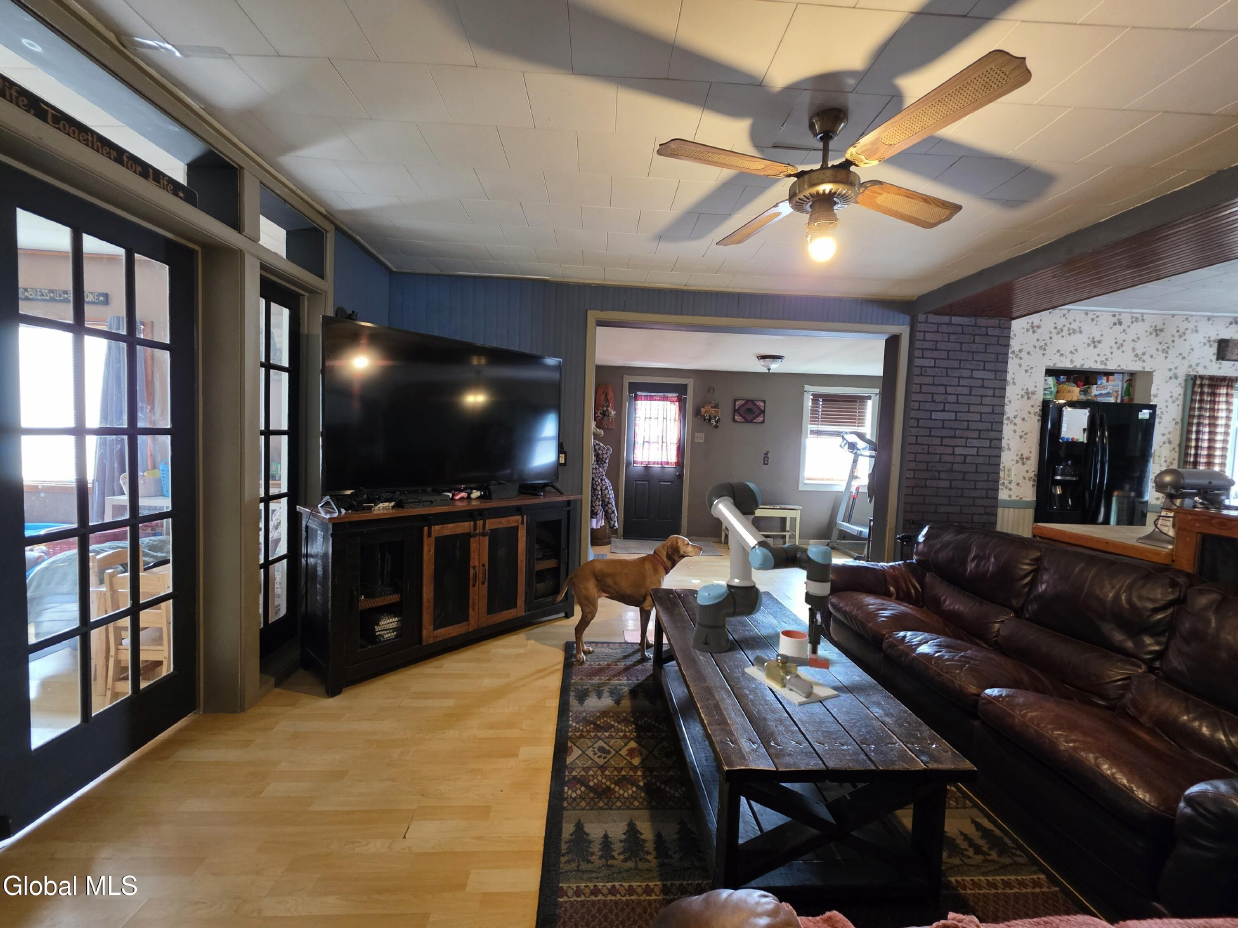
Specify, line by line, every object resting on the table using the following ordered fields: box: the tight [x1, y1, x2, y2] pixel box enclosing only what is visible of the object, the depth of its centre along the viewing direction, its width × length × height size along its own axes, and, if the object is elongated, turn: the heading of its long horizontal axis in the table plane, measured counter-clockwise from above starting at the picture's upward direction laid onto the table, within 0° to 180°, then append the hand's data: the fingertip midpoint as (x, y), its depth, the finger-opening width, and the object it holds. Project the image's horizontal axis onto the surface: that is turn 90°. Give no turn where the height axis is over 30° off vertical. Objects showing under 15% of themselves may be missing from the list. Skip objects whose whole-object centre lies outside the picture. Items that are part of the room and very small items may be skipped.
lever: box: [775, 653, 830, 670], centre depth 175 cm, size 16×4×2 cm, turn 75°
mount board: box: [744, 665, 839, 706], centre depth 179 cm, size 26×17×1 cm, turn 25°
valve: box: [752, 654, 813, 698], centre depth 177 cm, size 24×7×7 cm, turn 25°
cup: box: [778, 629, 809, 666], centre depth 197 cm, size 10×10×10 cm
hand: (812, 661), depth 177 cm, fingers closed
